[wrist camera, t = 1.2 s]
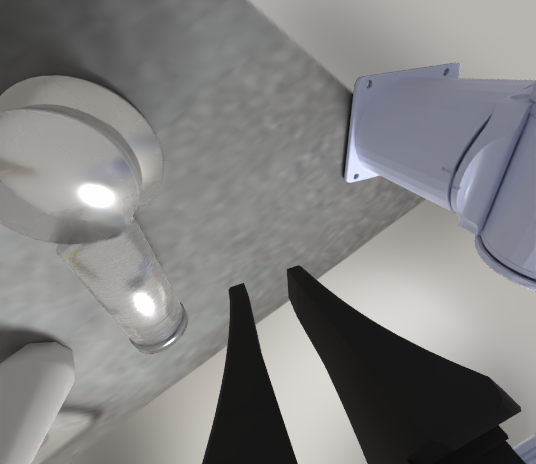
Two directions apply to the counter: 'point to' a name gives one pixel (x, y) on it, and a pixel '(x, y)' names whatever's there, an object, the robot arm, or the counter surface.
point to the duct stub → (102, 107)
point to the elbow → (87, 214)
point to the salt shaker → (32, 397)
